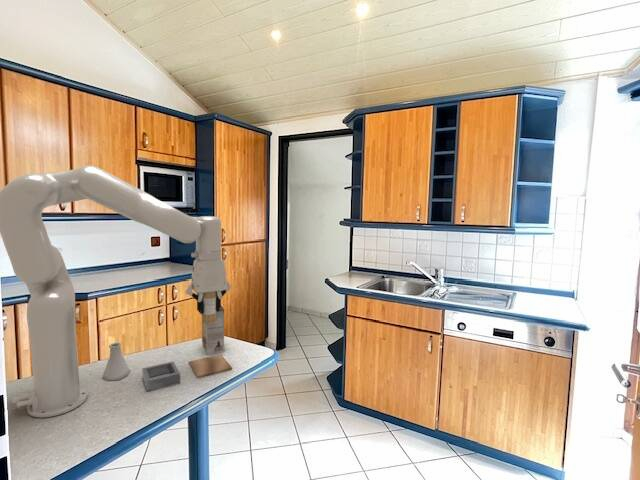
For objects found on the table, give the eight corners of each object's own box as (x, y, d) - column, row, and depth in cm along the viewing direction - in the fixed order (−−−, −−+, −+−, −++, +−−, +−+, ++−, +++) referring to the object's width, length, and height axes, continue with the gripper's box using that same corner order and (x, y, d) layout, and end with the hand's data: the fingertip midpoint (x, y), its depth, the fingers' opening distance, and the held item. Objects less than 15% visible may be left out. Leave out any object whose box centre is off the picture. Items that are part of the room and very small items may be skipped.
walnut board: (197, 378, 108) (197, 376, 108) (188, 363, 117) (188, 361, 117) (232, 369, 114) (232, 367, 114) (221, 356, 123) (221, 354, 123)
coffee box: (201, 345, 131) (200, 303, 129) (218, 342, 134) (218, 301, 132) (206, 355, 123) (206, 311, 121) (225, 351, 127) (224, 308, 125)
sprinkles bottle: (204, 319, 116) (204, 279, 114) (218, 320, 116) (218, 280, 114) (199, 324, 111) (199, 283, 110) (213, 325, 111) (213, 283, 109)
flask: (134, 370, 112) (133, 340, 110) (119, 382, 105) (118, 350, 103) (113, 368, 112) (112, 338, 111) (97, 380, 105) (95, 348, 104)
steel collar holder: (146, 391, 100) (146, 381, 100) (142, 377, 108) (142, 368, 107) (180, 383, 105) (179, 373, 105) (173, 370, 113) (173, 361, 112)
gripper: (183, 259, 103) (184, 319, 105) (238, 255, 112) (238, 310, 115) (177, 255, 109) (178, 312, 111) (230, 252, 119) (230, 304, 121)
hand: (209, 311), depth 113 cm, fingers closed on sprinkles bottle, 4 cm apart
